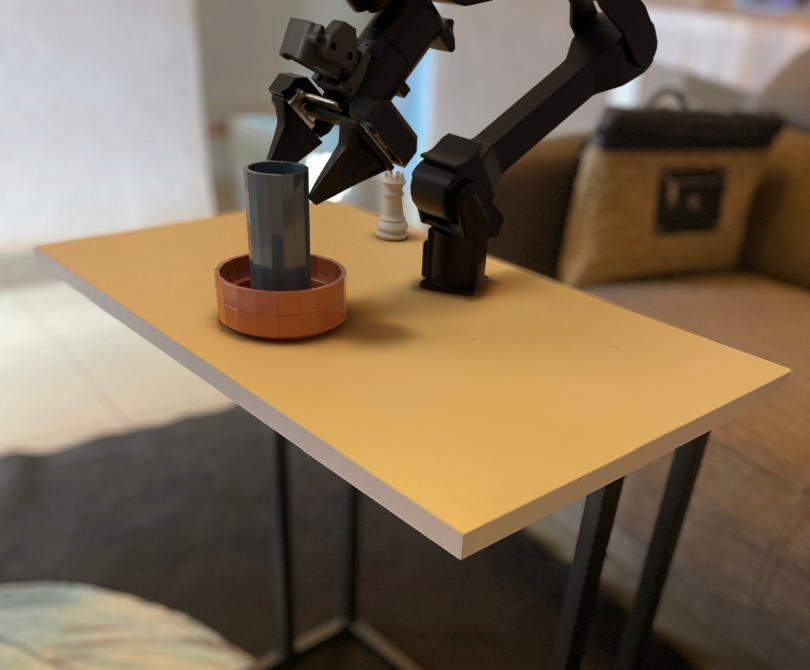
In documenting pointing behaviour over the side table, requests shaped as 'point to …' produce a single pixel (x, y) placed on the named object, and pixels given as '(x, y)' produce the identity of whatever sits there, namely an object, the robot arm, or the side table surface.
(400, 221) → the rook chess piece
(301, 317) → the bowl
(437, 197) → the robot arm
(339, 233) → the side table surface
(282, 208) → the vase
